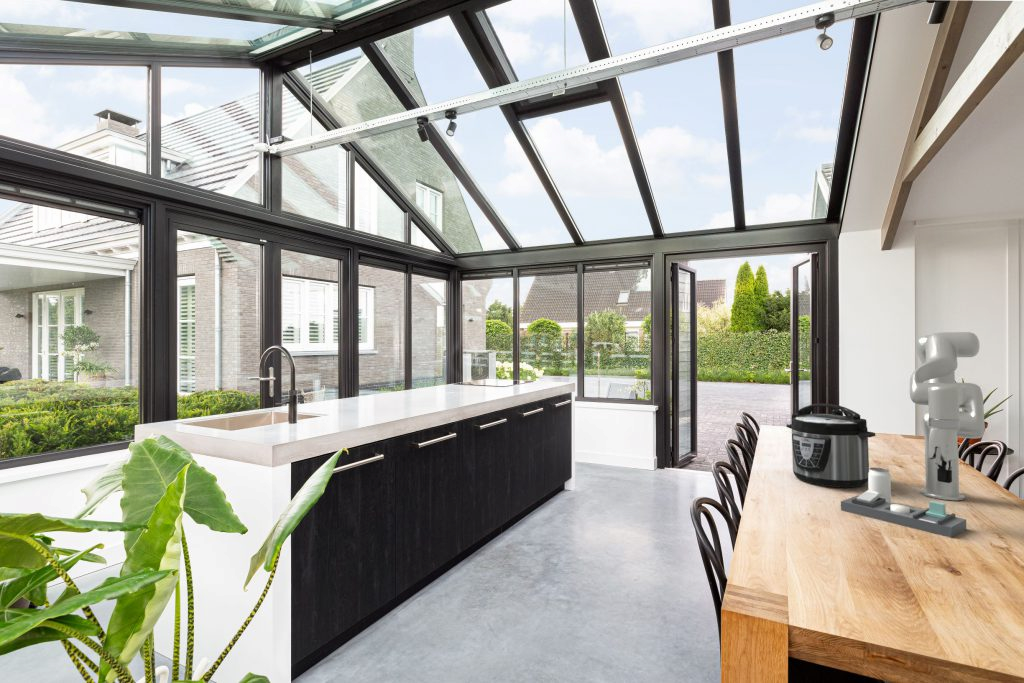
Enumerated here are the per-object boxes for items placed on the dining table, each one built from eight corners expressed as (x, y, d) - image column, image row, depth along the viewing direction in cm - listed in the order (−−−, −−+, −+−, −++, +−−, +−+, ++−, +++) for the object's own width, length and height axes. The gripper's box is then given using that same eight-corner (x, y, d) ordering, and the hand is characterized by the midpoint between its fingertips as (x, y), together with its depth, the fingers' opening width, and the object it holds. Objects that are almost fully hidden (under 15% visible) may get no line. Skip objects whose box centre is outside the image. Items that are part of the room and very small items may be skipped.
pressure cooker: (776, 471, 228) (775, 400, 228) (841, 471, 227) (840, 399, 227) (812, 491, 198) (811, 408, 198) (888, 491, 197) (886, 408, 197)
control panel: (857, 503, 182) (857, 492, 182) (966, 529, 157) (966, 515, 157) (840, 510, 176) (840, 497, 176) (951, 537, 150) (951, 523, 150)
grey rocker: (867, 493, 178) (867, 489, 178) (880, 496, 174) (880, 492, 174) (856, 501, 174) (856, 497, 173) (870, 504, 170) (869, 500, 170)
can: (894, 506, 179) (894, 472, 179) (874, 505, 180) (873, 471, 180) (885, 500, 185) (884, 467, 185) (865, 500, 186) (864, 466, 186)
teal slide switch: (930, 512, 163) (930, 499, 163) (949, 516, 159) (949, 503, 159) (925, 514, 161) (925, 502, 161) (944, 519, 157) (944, 506, 157)
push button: (894, 515, 170) (894, 503, 170) (912, 519, 166) (912, 507, 166) (887, 518, 167) (887, 506, 167) (905, 522, 163) (905, 510, 163)
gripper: (938, 420, 171) (939, 476, 171) (919, 424, 163) (920, 482, 163) (967, 423, 164) (968, 480, 164) (949, 427, 156) (950, 488, 156)
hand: (944, 481), depth 163 cm, fingers closed
